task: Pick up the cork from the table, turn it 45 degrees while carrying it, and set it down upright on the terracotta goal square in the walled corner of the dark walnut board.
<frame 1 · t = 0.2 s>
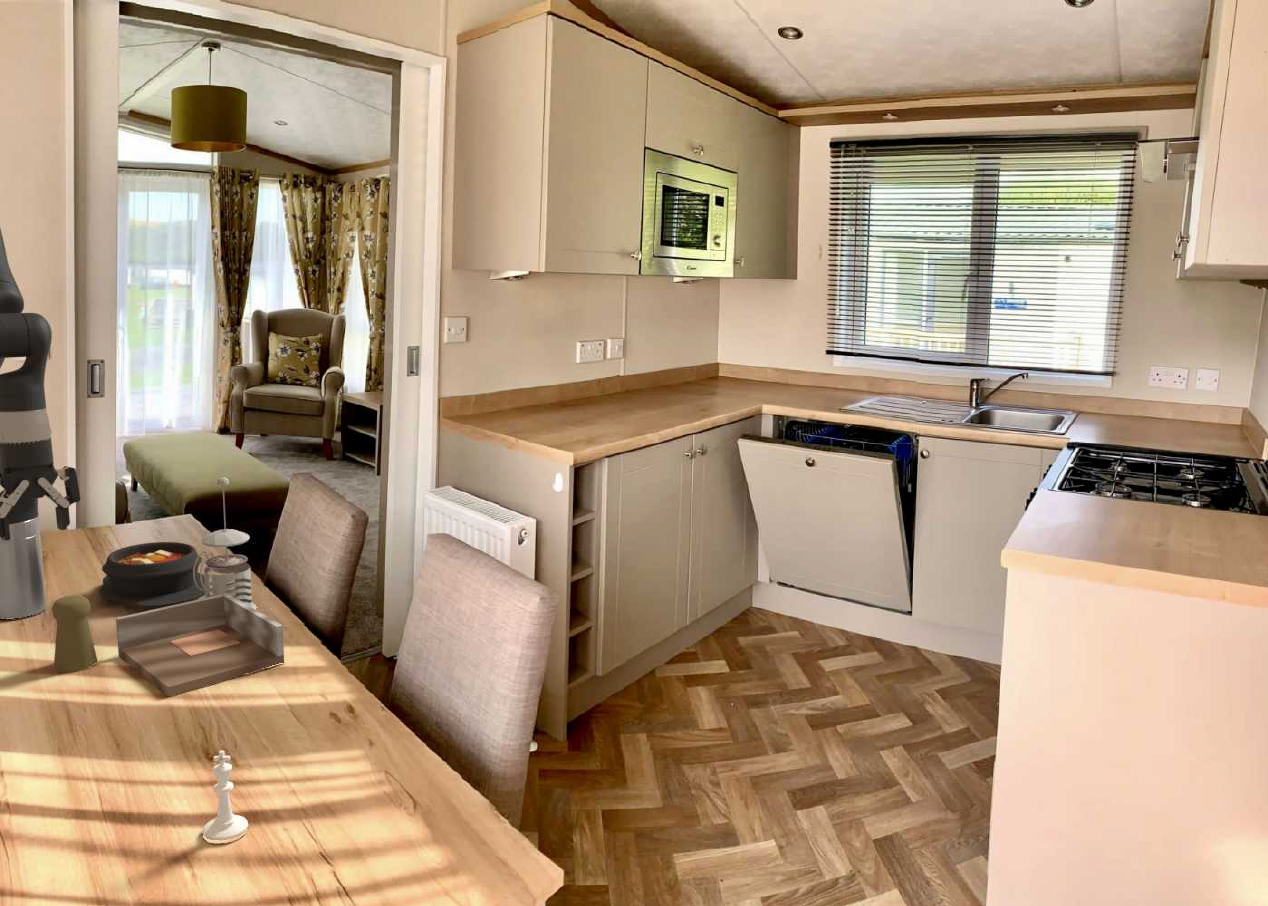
hand: (34, 534, 162), 18 cm above the table, tool pointing down, fingers open, 8 cm apart
chess piece: (225, 833, 112), on the table
french press: (225, 613, 179), on the table
casserole: (155, 596, 186), on the table
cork: (76, 665, 155), on the table
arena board: (201, 660, 158), on the table
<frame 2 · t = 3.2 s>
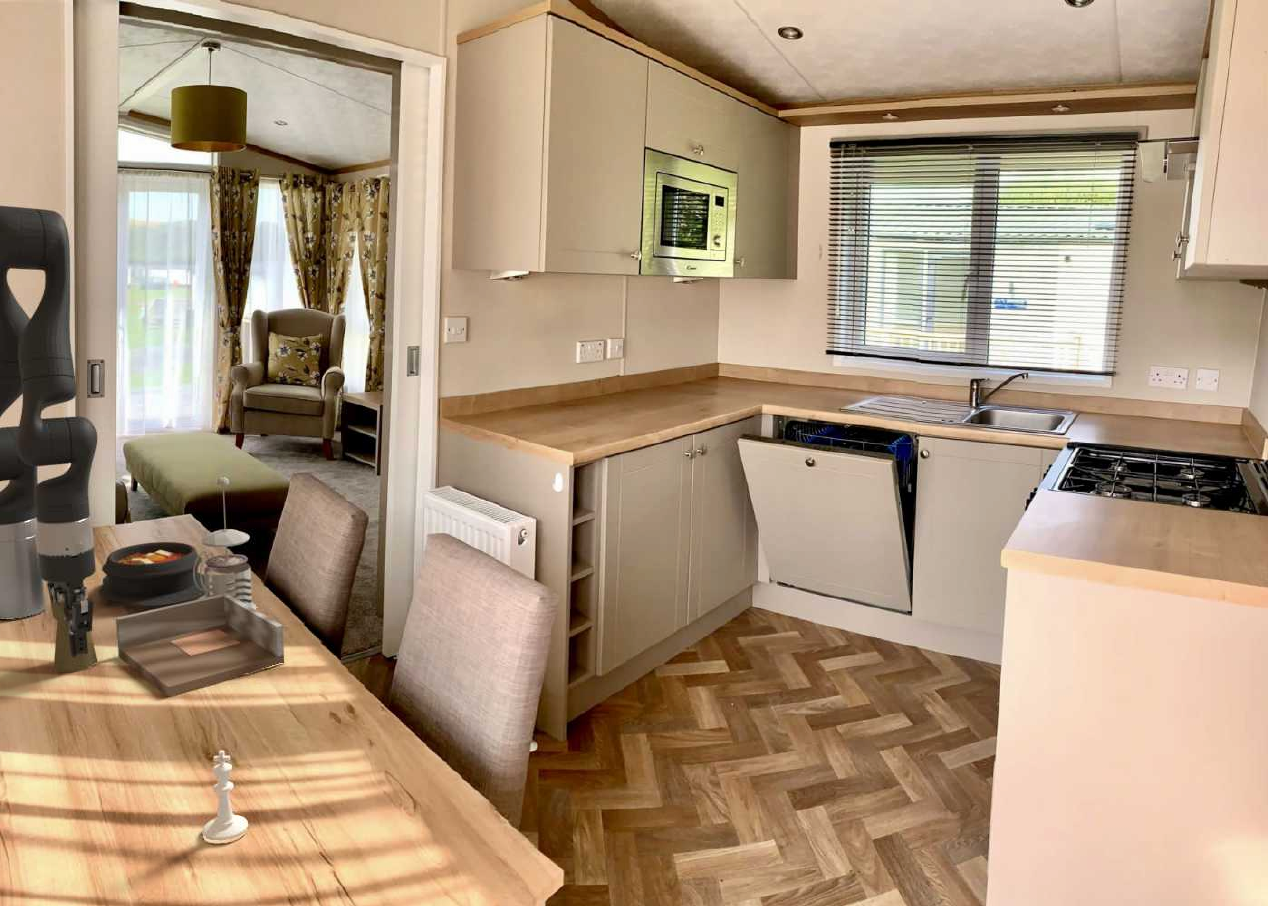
hand: (74, 650, 154), 2 cm above the table, tool pointing down, fingers closed on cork, 4 cm apart
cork: (76, 665, 155), on the table, touching gripper
everything else where it was.
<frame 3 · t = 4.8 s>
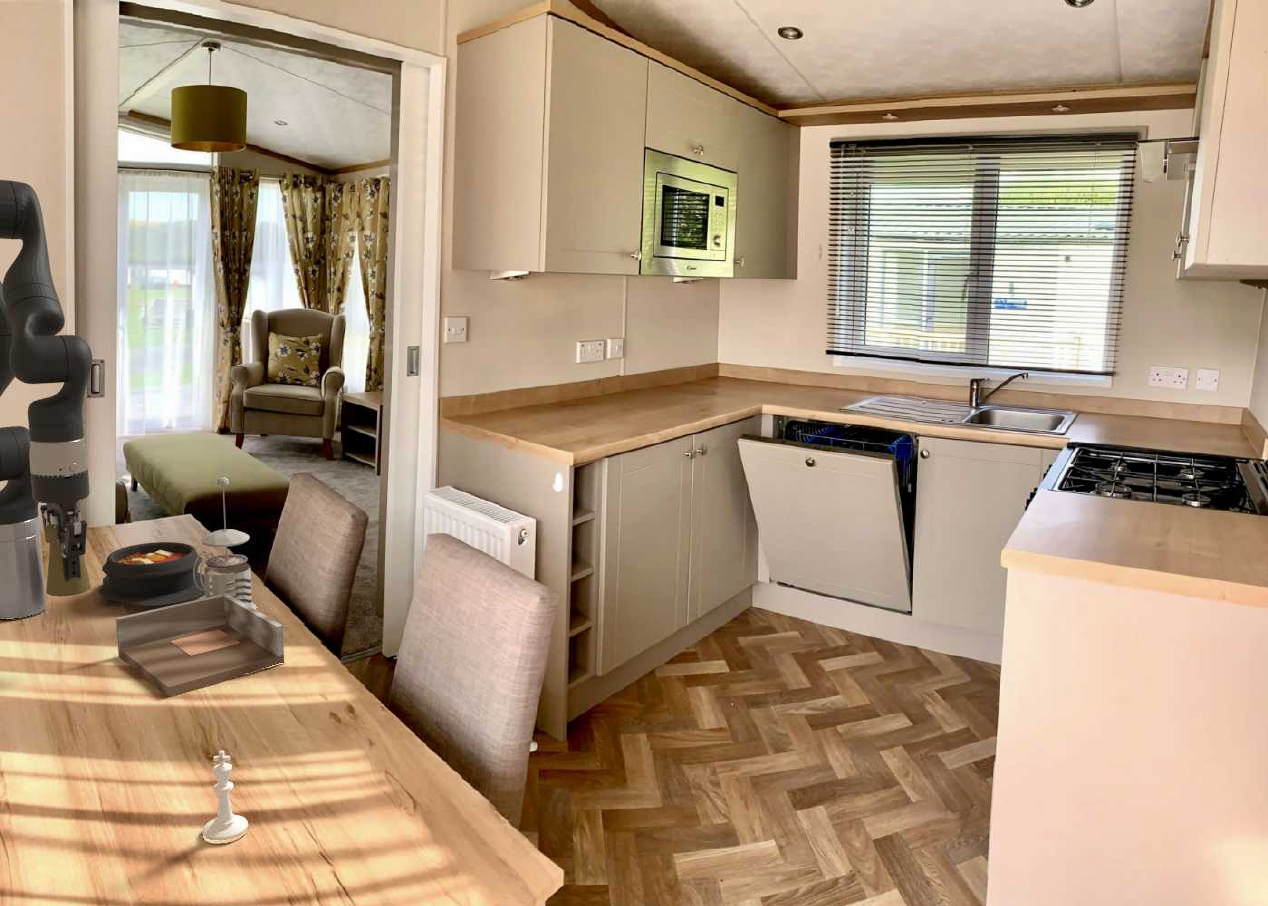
hand: (67, 575, 152), 15 cm above the table, tool pointing down, fingers closed on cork, 4 cm apart
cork: (69, 590, 152), point 12 cm above the table, touching gripper
everything else where it was.
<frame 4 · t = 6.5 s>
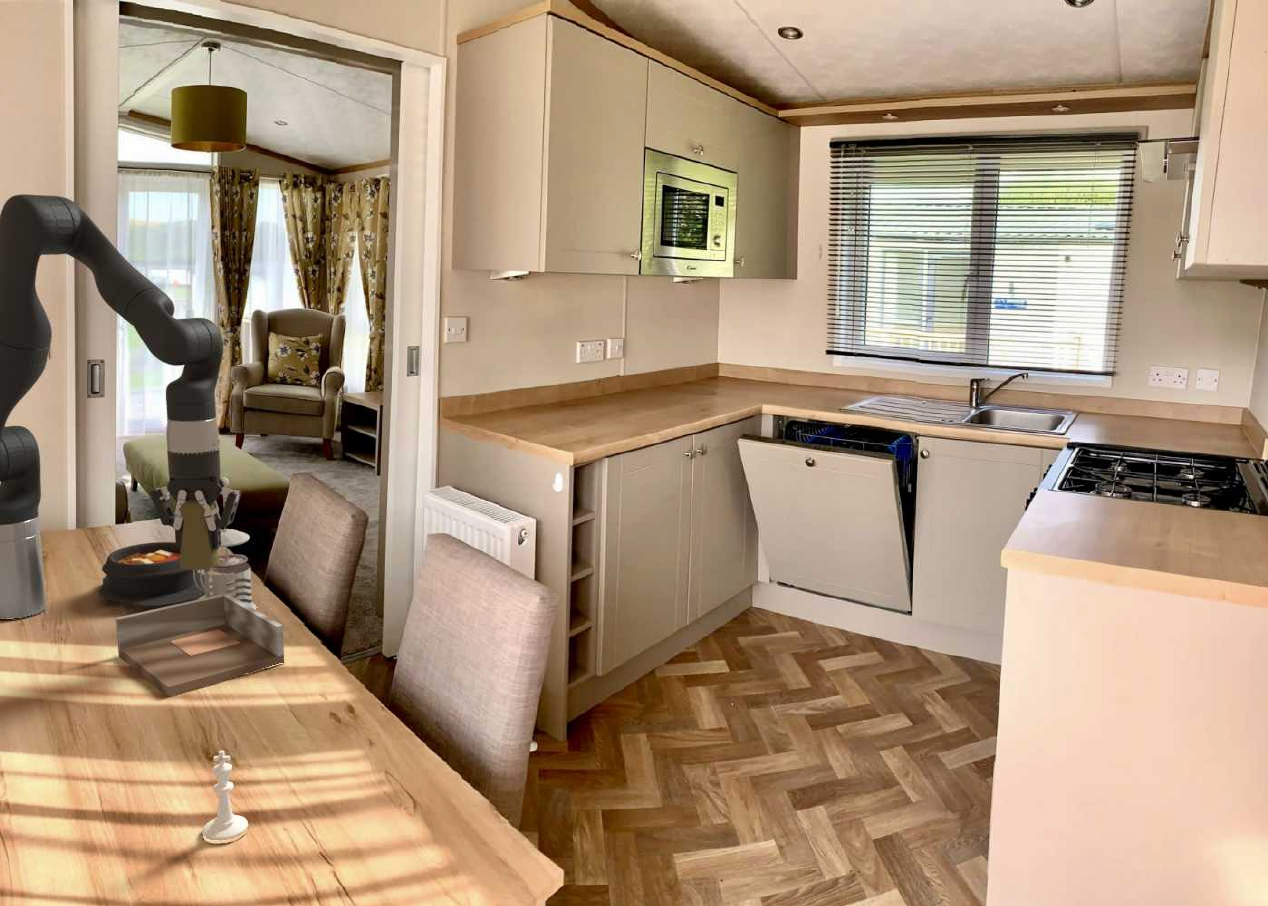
hand: (199, 550, 158), 17 cm above the table, tool pointing down, fingers closed on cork, 4 cm apart
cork: (200, 565, 158), point 15 cm above the table, touching gripper
everything else where it was.
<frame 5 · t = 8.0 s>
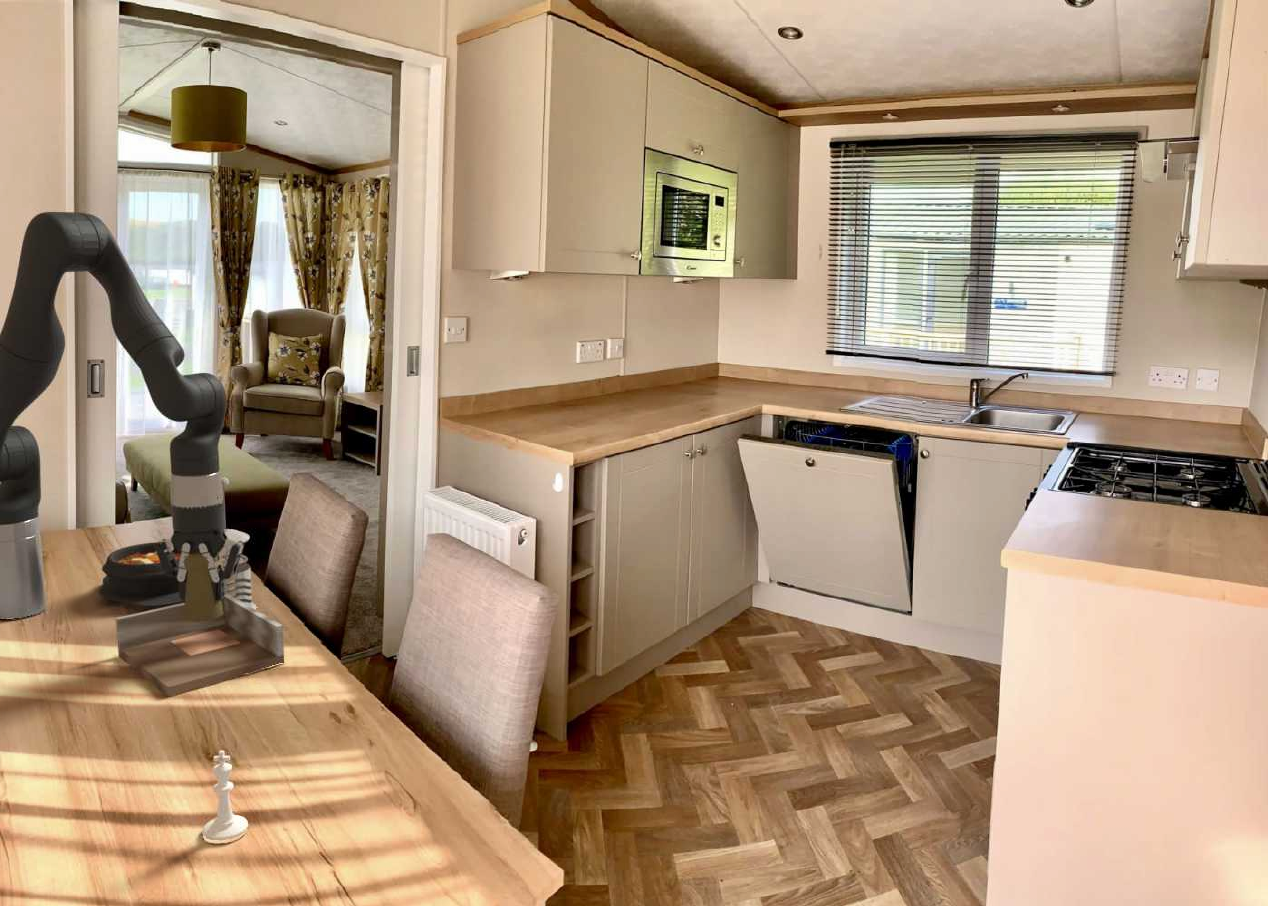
hand: (202, 601, 160), 9 cm above the table, tool pointing down, fingers closed on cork, 4 cm apart
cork: (203, 616, 160), point 6 cm above the table, touching gripper
everything else where it was.
when the fingers open (5 cm above the table, at t = 9.5 s): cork drops 1 cm, resting on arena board.
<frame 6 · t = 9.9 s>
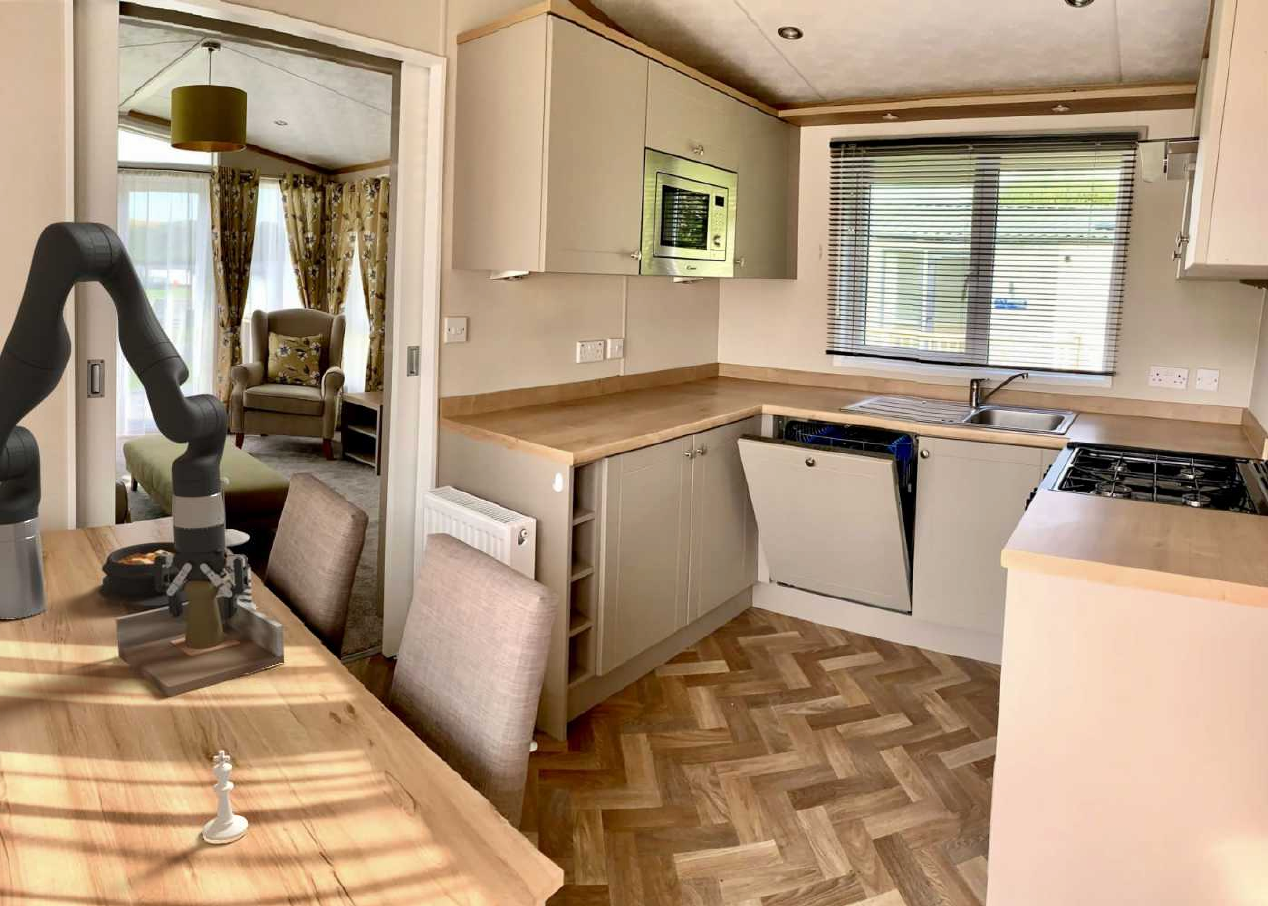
hand: (203, 616, 160), 6 cm above the table, tool pointing down, fingers open, 8 cm apart
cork: (204, 643, 161), point 1 cm above the table, touching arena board
everything else where it was.
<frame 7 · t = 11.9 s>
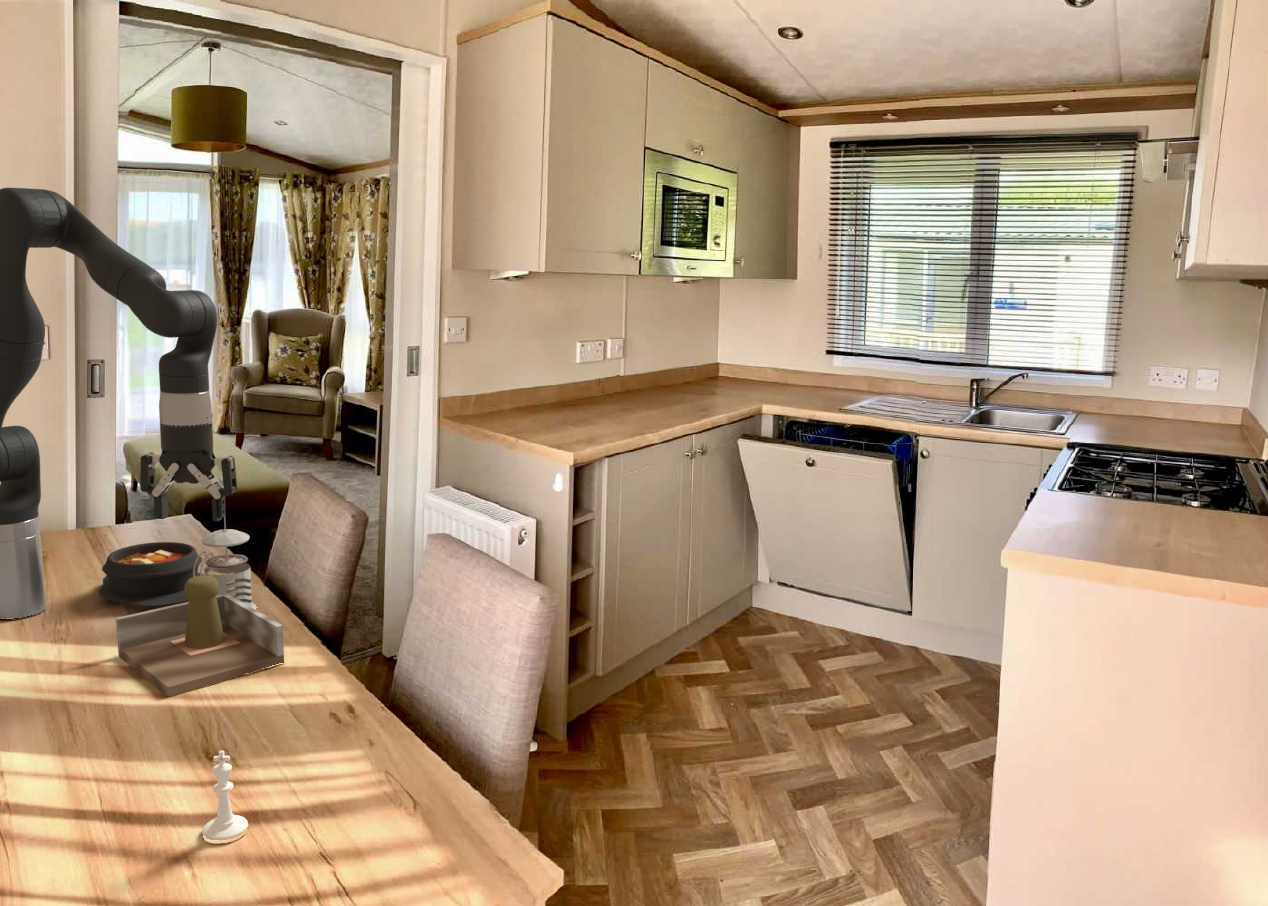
hand: (190, 519, 157), 22 cm above the table, tool pointing down, fingers open, 8 cm apart
nothing on the table moved.
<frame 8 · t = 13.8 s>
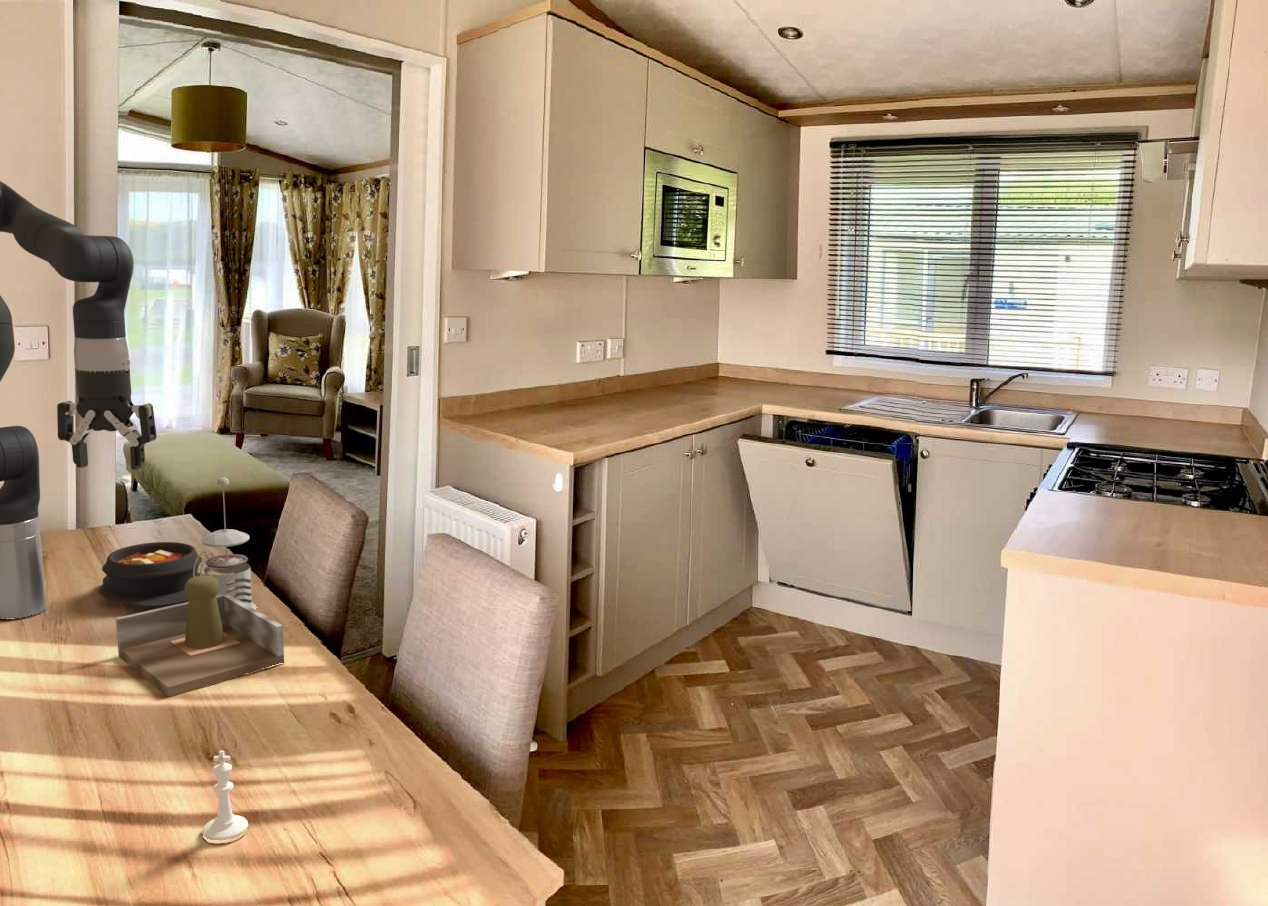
hand: (109, 467, 156), 30 cm above the table, tool pointing down, fingers open, 8 cm apart
nothing on the table moved.
at the end: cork 0.1 cm from the target spot on the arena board, point 1.4 cm above the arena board's base; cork tilted 0°; the gripper is holding nothing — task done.
